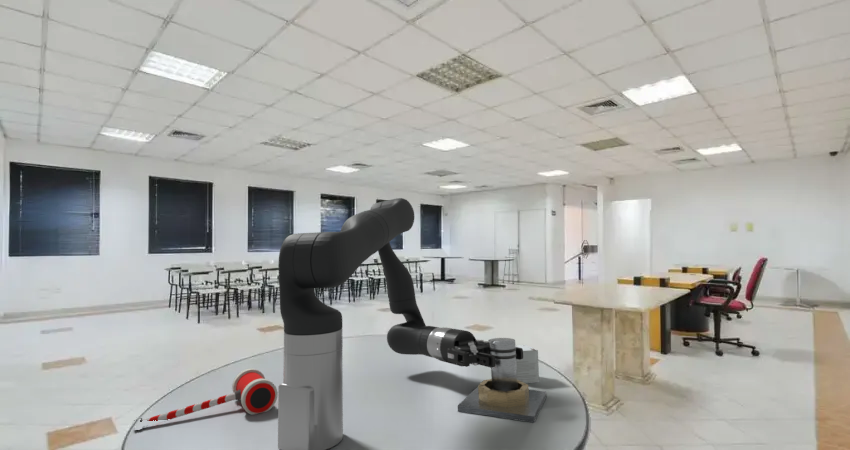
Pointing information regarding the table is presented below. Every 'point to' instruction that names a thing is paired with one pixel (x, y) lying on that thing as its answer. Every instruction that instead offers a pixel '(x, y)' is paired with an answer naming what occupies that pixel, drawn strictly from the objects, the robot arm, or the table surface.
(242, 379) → the toy hammer
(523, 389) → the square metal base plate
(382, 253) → the robot arm
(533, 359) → the skincare box
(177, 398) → the table surface
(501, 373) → the piston
